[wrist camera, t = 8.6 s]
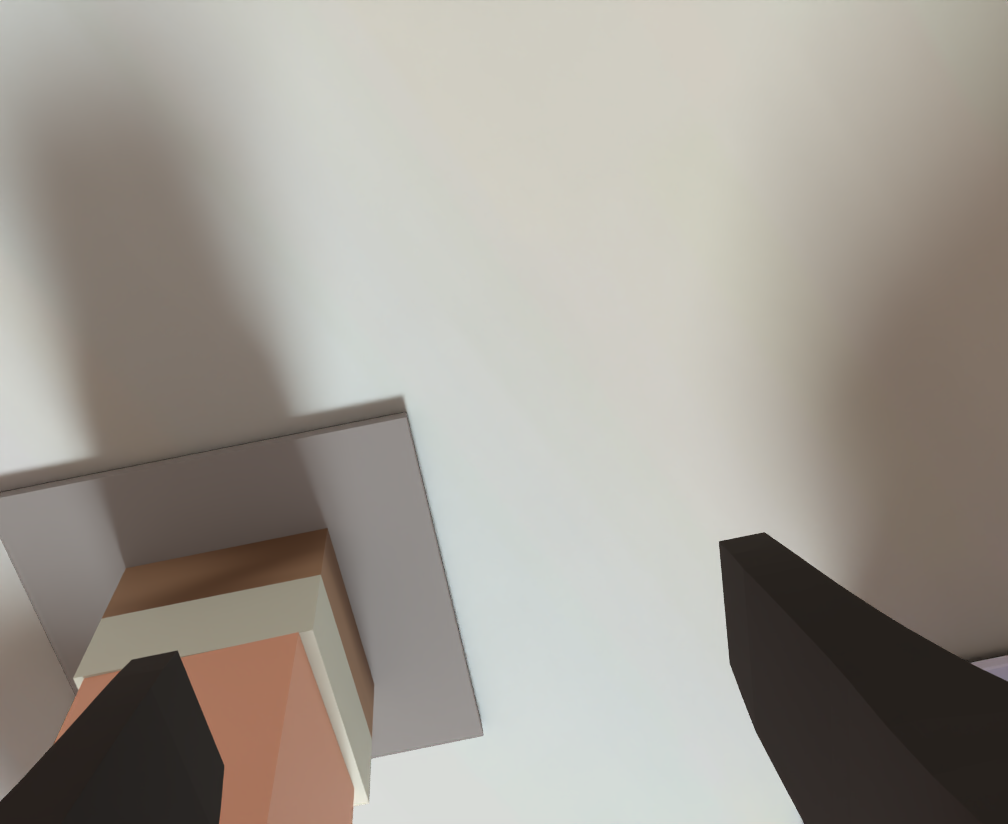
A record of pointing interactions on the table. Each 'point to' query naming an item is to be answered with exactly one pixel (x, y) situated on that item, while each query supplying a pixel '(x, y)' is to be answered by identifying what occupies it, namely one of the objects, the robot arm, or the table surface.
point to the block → (263, 733)
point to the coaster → (258, 517)
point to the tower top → (243, 623)
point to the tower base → (246, 572)
